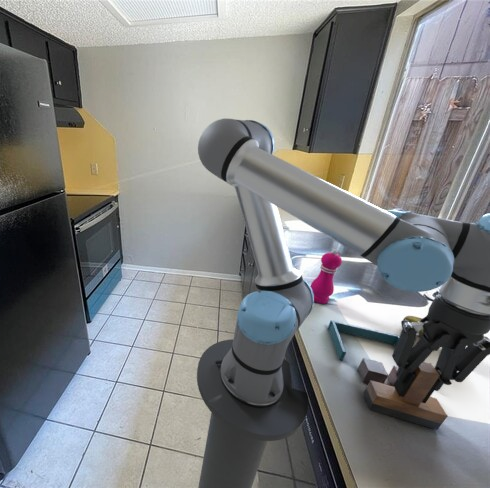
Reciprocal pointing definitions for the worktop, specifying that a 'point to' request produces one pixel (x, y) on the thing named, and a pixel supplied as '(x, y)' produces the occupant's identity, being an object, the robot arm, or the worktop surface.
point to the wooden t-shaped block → (409, 399)
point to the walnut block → (372, 371)
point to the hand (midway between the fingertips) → (408, 393)
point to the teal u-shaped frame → (357, 331)
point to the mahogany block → (393, 375)
